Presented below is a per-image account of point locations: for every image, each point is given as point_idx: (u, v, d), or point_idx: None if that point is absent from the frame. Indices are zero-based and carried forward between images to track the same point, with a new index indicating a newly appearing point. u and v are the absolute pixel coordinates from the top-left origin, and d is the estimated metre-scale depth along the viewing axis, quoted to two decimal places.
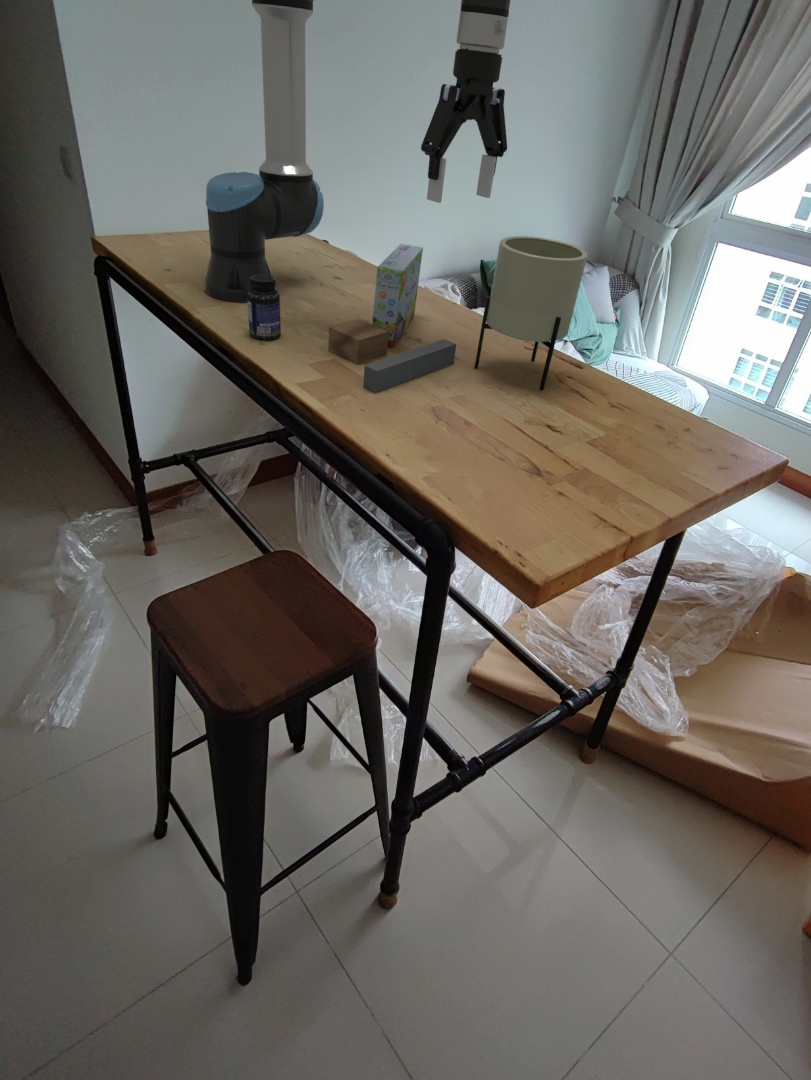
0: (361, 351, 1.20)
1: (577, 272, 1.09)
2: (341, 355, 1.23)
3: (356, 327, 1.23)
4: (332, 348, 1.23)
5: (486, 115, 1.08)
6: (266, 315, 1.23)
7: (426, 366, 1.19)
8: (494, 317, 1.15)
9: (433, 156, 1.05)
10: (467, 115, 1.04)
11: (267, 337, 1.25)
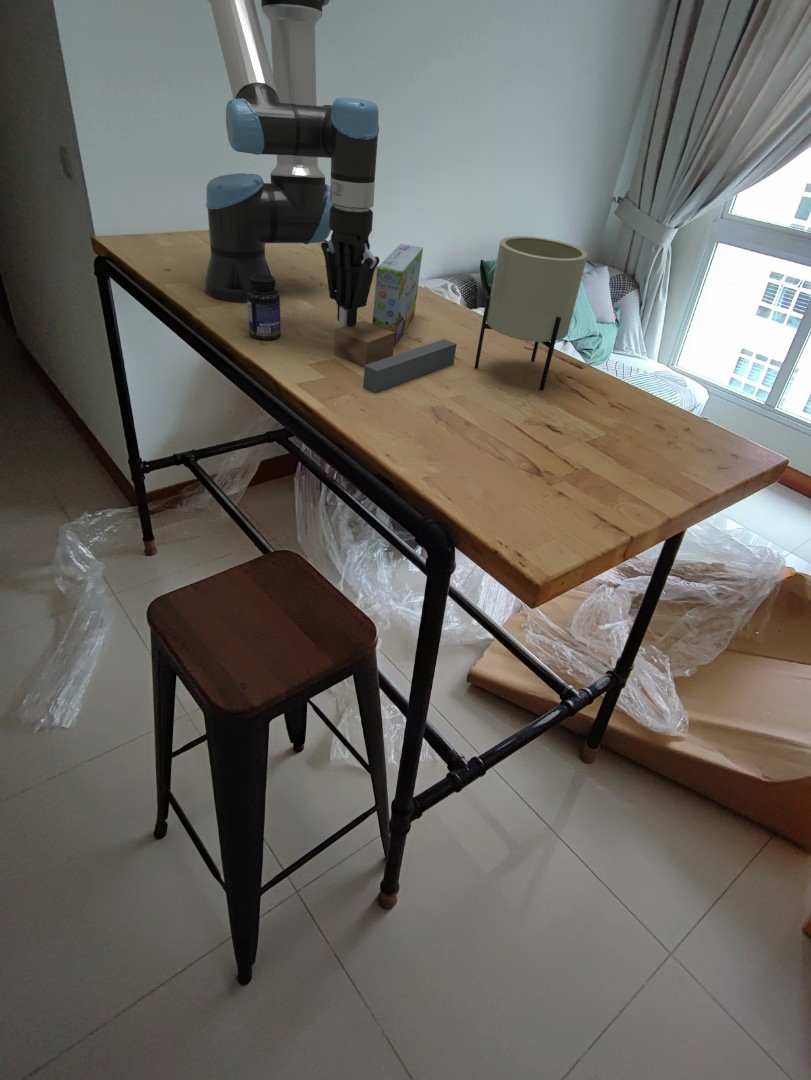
0: (369, 353, 1.19)
1: (577, 272, 1.09)
2: (348, 358, 1.22)
3: (362, 330, 1.22)
4: (338, 351, 1.22)
5: None
6: (266, 315, 1.22)
7: (426, 366, 1.19)
8: (494, 317, 1.15)
9: None
10: (338, 262, 1.16)
11: (267, 337, 1.25)
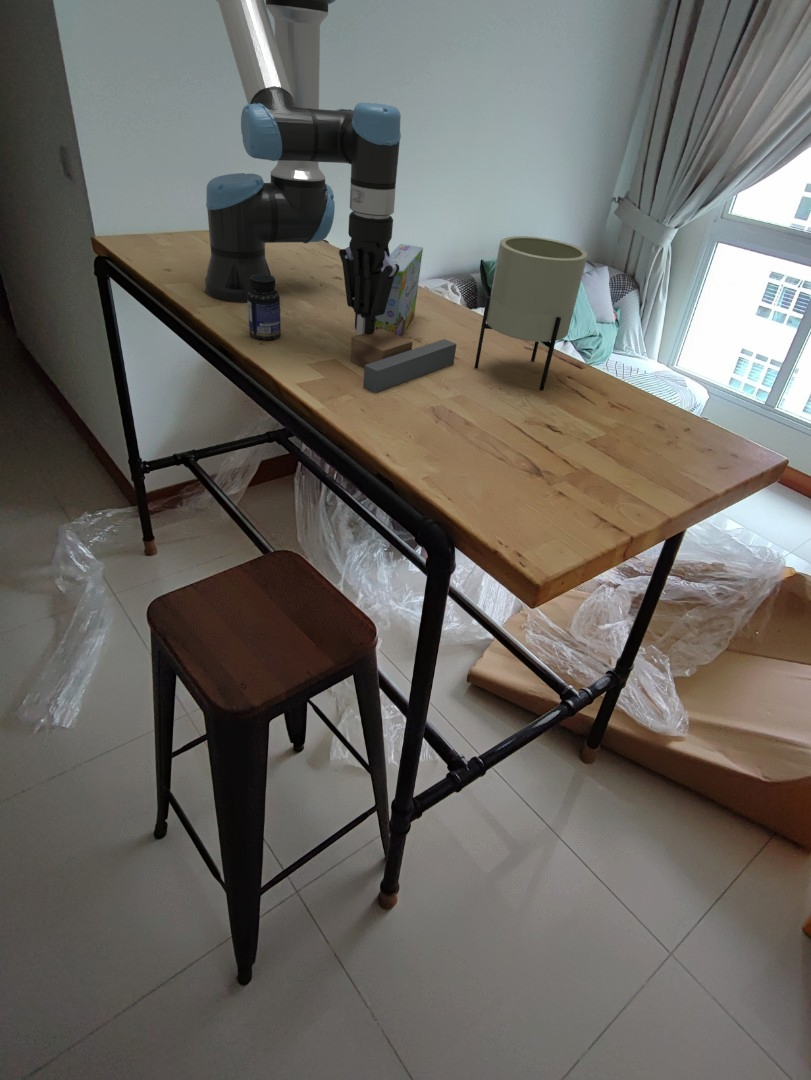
0: None
1: (577, 272, 1.09)
2: (364, 366, 1.20)
3: (380, 338, 1.20)
4: (354, 358, 1.20)
5: (364, 269, 1.13)
6: (266, 315, 1.23)
7: (426, 366, 1.19)
8: (494, 317, 1.15)
9: None
10: (356, 269, 1.14)
11: (267, 337, 1.25)
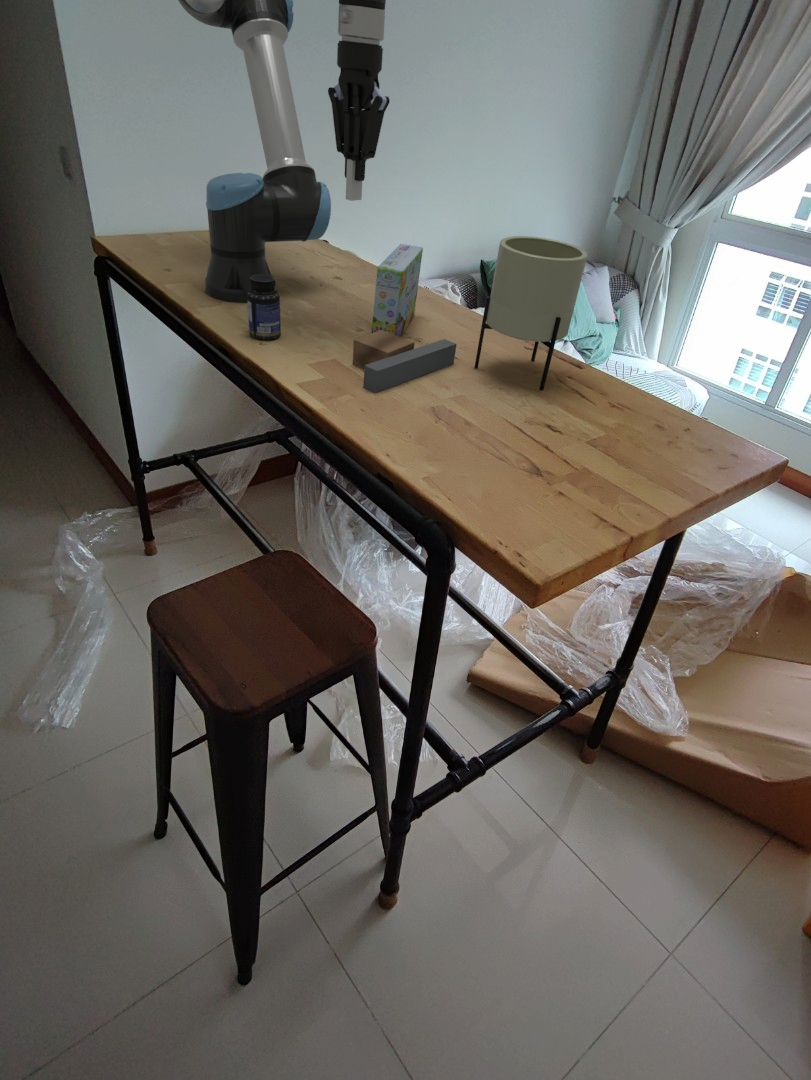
0: None
1: (577, 272, 1.09)
2: None
3: (381, 339, 1.19)
4: (357, 361, 1.20)
5: (354, 104, 1.10)
6: (266, 315, 1.23)
7: (426, 366, 1.19)
8: (494, 317, 1.15)
9: None
10: (345, 106, 1.11)
11: (267, 337, 1.25)
